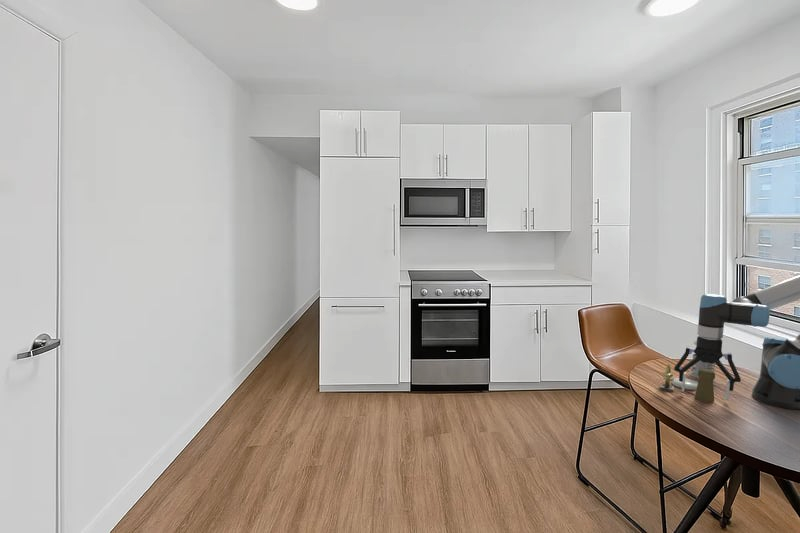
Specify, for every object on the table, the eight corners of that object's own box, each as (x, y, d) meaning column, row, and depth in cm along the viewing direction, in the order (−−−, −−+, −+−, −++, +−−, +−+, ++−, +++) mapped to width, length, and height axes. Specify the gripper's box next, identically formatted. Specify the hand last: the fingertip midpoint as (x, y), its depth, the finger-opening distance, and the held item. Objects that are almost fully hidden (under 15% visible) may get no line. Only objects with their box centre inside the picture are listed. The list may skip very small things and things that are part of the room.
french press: (685, 375, 188) (689, 316, 185) (693, 368, 196) (698, 312, 193) (712, 381, 181) (718, 320, 178) (720, 374, 189) (725, 316, 186)
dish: (702, 384, 178) (702, 381, 178) (701, 392, 170) (701, 389, 170) (672, 378, 183) (673, 376, 183) (670, 386, 175) (671, 383, 175)
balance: (674, 385, 176) (676, 358, 175) (672, 395, 167) (674, 366, 165) (661, 383, 179) (663, 356, 177) (658, 392, 169) (660, 364, 168)
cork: (717, 403, 160) (720, 373, 159) (698, 401, 161) (701, 372, 160) (709, 396, 166) (712, 367, 164) (691, 395, 167) (693, 366, 166)
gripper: (752, 340, 157) (746, 399, 159) (670, 329, 171) (666, 383, 173) (754, 345, 151) (747, 406, 153) (669, 333, 165) (664, 389, 167)
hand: (704, 394), depth 163 cm, fingers open, 12 cm apart
